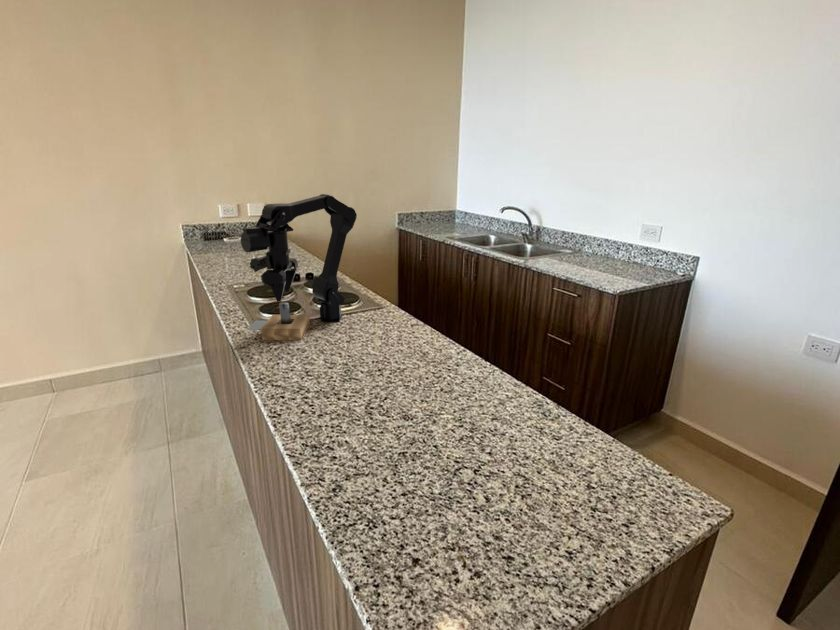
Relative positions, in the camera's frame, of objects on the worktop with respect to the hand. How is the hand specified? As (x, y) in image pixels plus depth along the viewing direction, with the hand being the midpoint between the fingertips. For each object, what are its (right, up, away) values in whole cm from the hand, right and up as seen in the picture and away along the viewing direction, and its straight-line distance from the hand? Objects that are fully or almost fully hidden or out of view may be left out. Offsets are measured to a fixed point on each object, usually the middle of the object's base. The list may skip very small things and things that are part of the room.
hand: (283, 296), depth 145 cm
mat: (-10, -9, +10) cm, 17 cm away
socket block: (0, -12, +4) cm, 12 cm away
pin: (0, -12, +4) cm, 12 cm away
